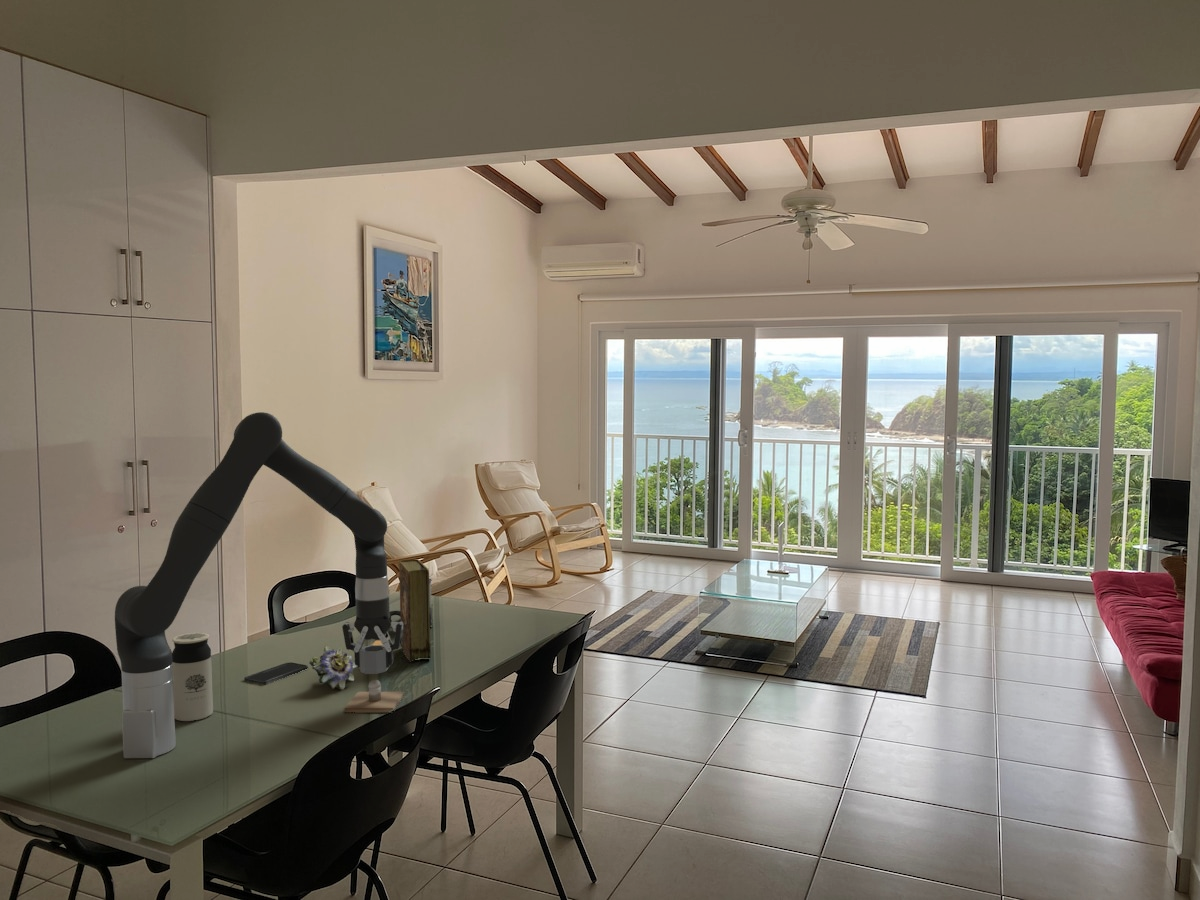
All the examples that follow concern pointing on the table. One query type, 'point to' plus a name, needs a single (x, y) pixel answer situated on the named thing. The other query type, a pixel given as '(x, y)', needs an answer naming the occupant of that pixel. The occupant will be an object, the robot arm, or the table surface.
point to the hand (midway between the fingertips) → (374, 666)
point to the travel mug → (192, 677)
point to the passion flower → (334, 668)
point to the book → (415, 609)
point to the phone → (275, 673)
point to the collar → (373, 658)
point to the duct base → (374, 706)
